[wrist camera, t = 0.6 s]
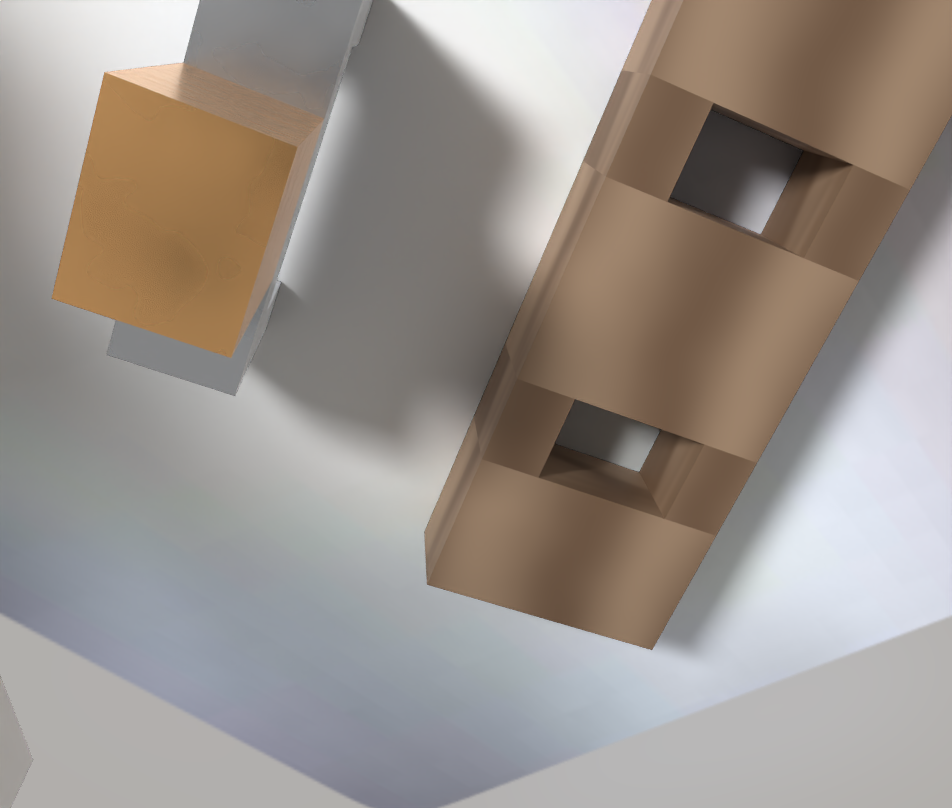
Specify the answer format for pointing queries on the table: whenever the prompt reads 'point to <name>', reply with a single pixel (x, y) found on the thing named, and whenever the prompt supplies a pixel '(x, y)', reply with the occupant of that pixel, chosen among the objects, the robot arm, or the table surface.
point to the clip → (205, 184)
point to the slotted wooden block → (685, 301)
